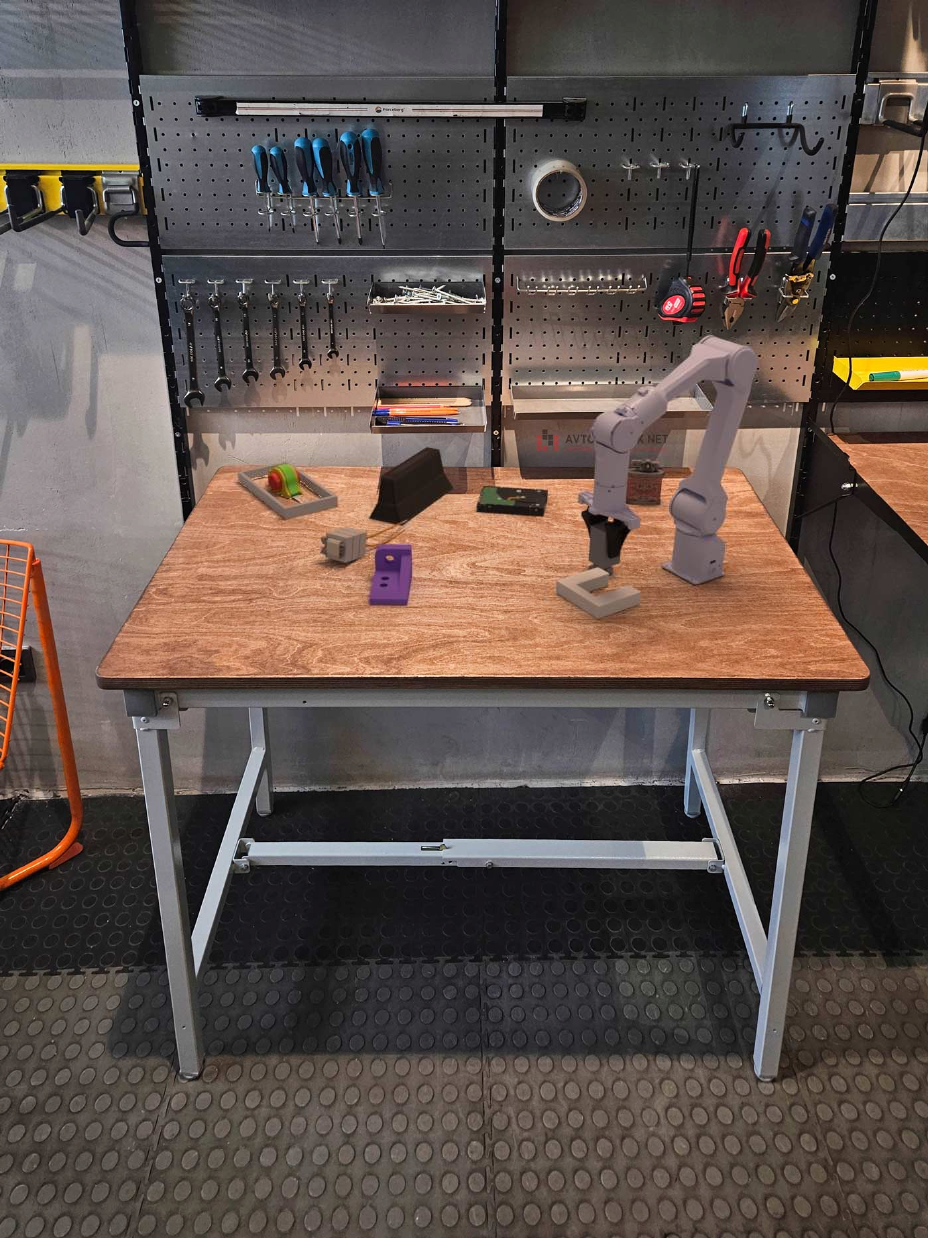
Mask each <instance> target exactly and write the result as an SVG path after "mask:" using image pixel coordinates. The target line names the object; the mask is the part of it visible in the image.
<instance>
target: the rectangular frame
mask: <svg viewBox="0 0 928 1238" xmlns="http://www.w3.org/2000/svg"><path fill="white" fill-rule="evenodd" d="M282 464H288V465H290V466H292V467H293V468H294V469H295V470H297V472H298V473H299V476H300V481H302V482H303V483H305V485H307V486H308V487H309V488H311V489H312V490H313V491H314V492H315V493H317V494H318V495H320V496H321V497H322V498H321V497H320V496H319V497H320V498H317V499H314V500H309V501H308V502H304V503H300V502H299V503H296V504H293V505H288V506H287V505H286V504H284V503H283V502H281V501H280V500H278V498H276V497H275V496H274V495H272V494H271V493H269V491H267V490H266V489H264V488H263V487H262V486H261V485H259V484H258V483H257V482H256V481H255V480H251V479H252V478H255V477H263V476H265V475H268V473H269V470H272V469H273V468H274V467H275V466H278V465H282ZM237 480H238V482H239V481H240V482H241V483H242V484H243V485H245V486H246V487H247V488H248V489H250V491H249V492H251V491H252V492H253V493H254V494H255V496H256V495H257V496H258V497H259V498H261V499H260V501H262V500H263V501H264V502H265V503H264V502H263V501H262V502H263V503H264V504H265V505H267V506H268V507H269V506H270V509H272V510H274V512H276V513H277V514H278V515H279V516H281V518H283V519H284V520H289V519H293V518H298V517H303V516H306V515H309V514H314V513H317V512H318V513H319V512H323V511H326V510H330V509H333V508H338V507H339V500H338V498H339V497H338V495H337V494H335V492H334V493H333V491H332V490H330V489H328V488H327V487H325V486H324V485H322V484H321V483H319V482H318V481H316V480H315V479H314V478H312V477H311V476H309V475H308V474H307V473H305V472H303V470H300V469H299V468H298V467H296V466H295V465H293V464H292V463H291V462H289V461H287V460H286V461H283V462H277V463H273V464H269V465H263V466H259V467H255V468H250V469H249V468H248V469H246V470H245V469H244V470H242V471H237ZM241 483H240V484H241ZM242 484H241V485H242ZM243 485H242V486H243ZM246 487H245V488H246ZM247 488H246V489H247ZM248 489H247V490H248ZM313 491H312V492H313ZM252 492H251V493H252ZM314 492H313V493H314ZM253 493H252V494H253ZM315 493H314V494H315ZM254 494H253V495H254ZM317 494H316V495H317ZM318 495H317V496H318ZM257 496H256V497H257ZM258 497H257V498H258ZM259 498H258V499H259Z"/></svg>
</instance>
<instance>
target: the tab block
mask: <svg viewBox="0 0 928 1238" xmlns="http://www.w3.org/2000/svg"><path fill="white" fill-rule="evenodd" d="M608 522H611V521H610V520H608V521H604V522H601V523H597V524H594V525H591V532H590V537H589V547H588V548H589V550H588V562H590V563H592V564H595V565H597V566H599V567H600V568H602V569H604V568H607V567H610V566H611V567H612V566H616V565H619V564H621V554H622V550H621V551H620V554H619V556H618V557H615V558H612V559H610V558H608V553H607V534H606V530H605V527H604V523H608Z"/></svg>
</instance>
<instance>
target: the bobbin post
mask: <svg viewBox="0 0 928 1238" xmlns="http://www.w3.org/2000/svg"><path fill="white" fill-rule="evenodd" d="M597 567H599V566H597V565H595V564H594V563H592V564H590V565H589V566H588V568H587V571H588V570H591V569H594V568H597ZM599 568H600V567H599ZM600 569H602V568H600ZM602 570H604V571H606V572H607V573H609V577H610V576H612V575H613V573H614V568H613V567H612V566H610V567H607V568H604V569H602Z"/></svg>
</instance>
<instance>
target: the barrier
mask: <svg viewBox="0 0 928 1238" xmlns="http://www.w3.org/2000/svg"><path fill="white" fill-rule="evenodd" d="M452 490H454V486H453V485H452V483H451V482H450V480H449V478H448V477H447V474H446V473H445V471H444V466H443V460H442V455H441V450H440V449H438V448H435V447H434V448H433V447H429V446H427V447H424V448H422V450H419V451H418V452H417V453H416V454H413V455H412V456H410V457H409V458H407V459H406V460H404V461H402V462H400V463H398V465H396V466H395V467H392V468H391V469H389V470H388V471H386V472H385V473H383V474H381V478H380V484H379V491H378V496H377V502H376V504H375V506H374V508H373V510H372V512H371V513H370V515H369V517H368V520H373V521H378V522H381V523H387V524H391V525H396V524H398V523H401V522H403V521H405V520H407V521H406V522H404V523H402V524H400V525H398V526H400V527H403V526H404V525H406V524H408V523H409V522H410V521H412V519H414V518H416V517H417V516H418V515H419V514H421V513H423V511H425V510H426V509H428V508H429V507H430V506H432V505H433V504H435V503H437V501H438V500H440V499H442V498H443V497H444V496H446V495H447V494H448V493H450V492H452Z"/></svg>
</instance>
